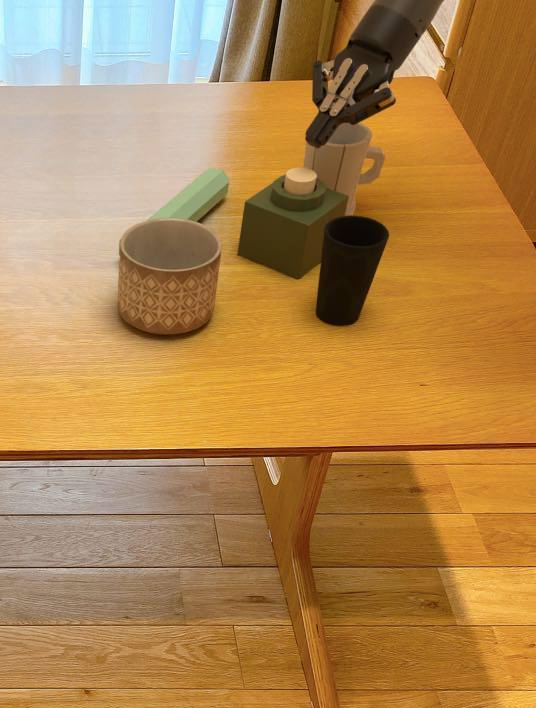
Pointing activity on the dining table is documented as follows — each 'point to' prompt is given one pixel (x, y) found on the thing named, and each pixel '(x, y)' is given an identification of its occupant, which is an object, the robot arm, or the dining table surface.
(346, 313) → the cup
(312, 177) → the cream push button
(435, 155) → the dining table surface
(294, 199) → the green push button box
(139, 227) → the planter
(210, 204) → the pale green long bar
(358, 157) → the cup
